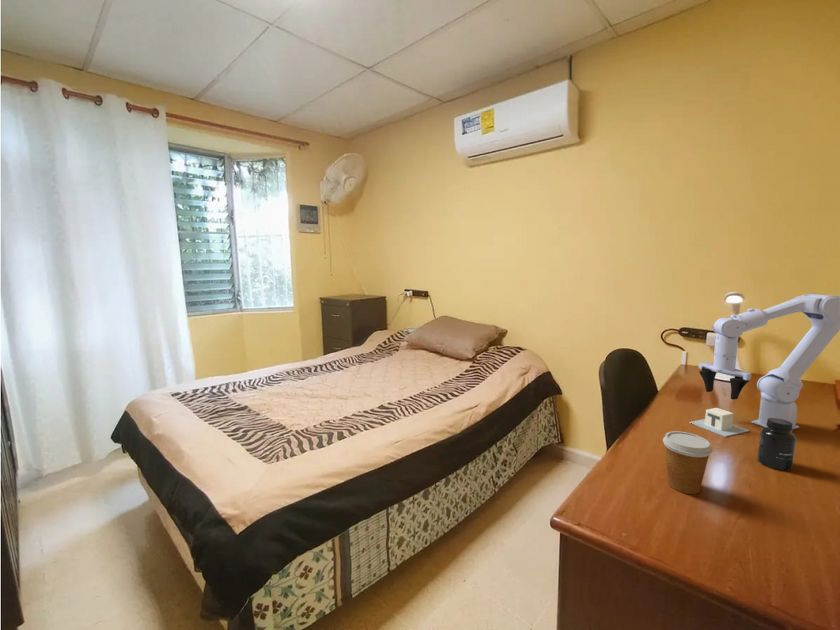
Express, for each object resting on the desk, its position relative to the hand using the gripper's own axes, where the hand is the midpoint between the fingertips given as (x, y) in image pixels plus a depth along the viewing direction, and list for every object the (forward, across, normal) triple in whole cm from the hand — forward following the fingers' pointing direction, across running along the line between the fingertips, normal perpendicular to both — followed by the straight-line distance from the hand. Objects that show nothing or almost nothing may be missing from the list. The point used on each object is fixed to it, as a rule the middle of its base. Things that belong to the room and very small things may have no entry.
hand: (721, 395), depth 123 cm
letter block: (+9, +2, -4) cm, 10 cm away
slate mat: (+9, +2, -4) cm, 11 cm away
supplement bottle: (+10, +23, -14) cm, 29 cm away
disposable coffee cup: (+10, +22, -46) cm, 52 cm away
